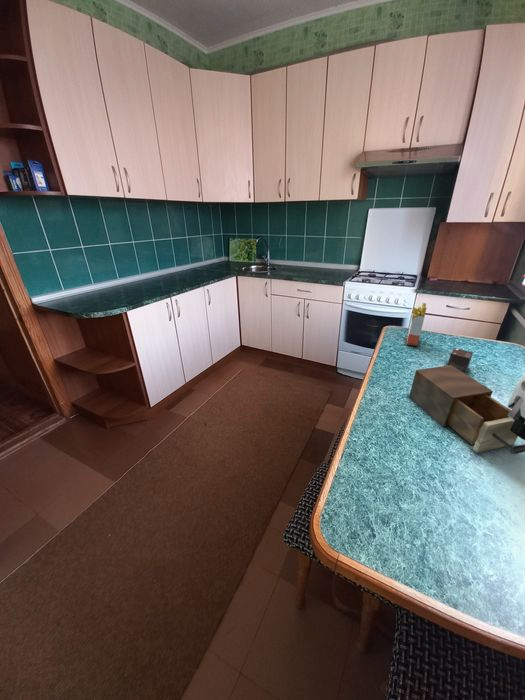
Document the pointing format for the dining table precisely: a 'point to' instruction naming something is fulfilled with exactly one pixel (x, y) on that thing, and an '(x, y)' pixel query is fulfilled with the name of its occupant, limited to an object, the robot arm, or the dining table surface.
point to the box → (460, 359)
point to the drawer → (484, 423)
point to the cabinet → (443, 390)
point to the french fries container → (416, 325)
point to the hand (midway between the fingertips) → (519, 434)
